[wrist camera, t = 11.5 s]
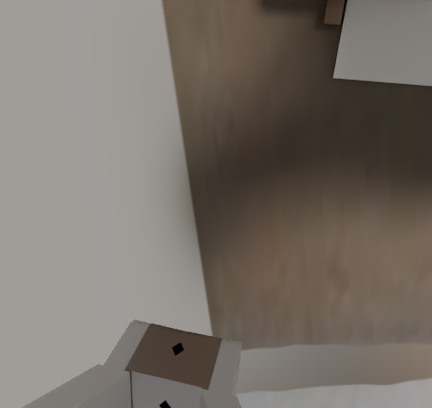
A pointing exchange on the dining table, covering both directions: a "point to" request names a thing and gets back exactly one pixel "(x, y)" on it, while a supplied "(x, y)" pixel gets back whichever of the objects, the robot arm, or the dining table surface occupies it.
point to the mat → (386, 42)
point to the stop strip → (333, 12)
